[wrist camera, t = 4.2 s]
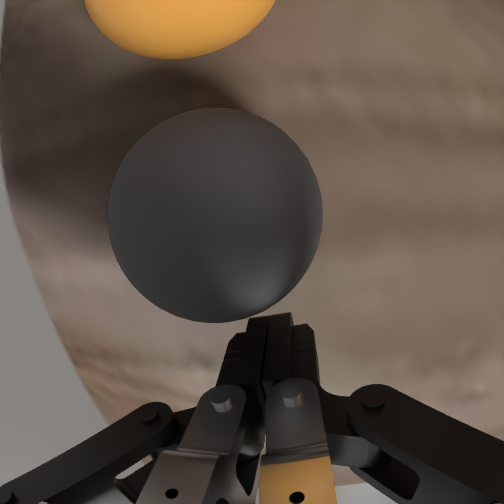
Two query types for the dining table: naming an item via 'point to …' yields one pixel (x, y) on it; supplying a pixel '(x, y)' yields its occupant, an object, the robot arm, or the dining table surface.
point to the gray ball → (214, 215)
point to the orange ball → (176, 24)
